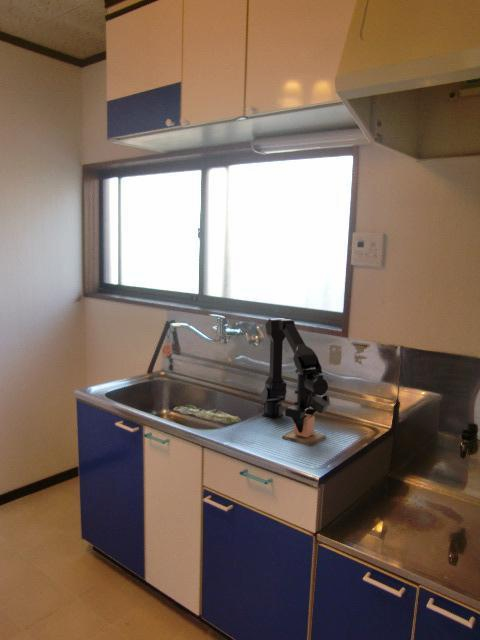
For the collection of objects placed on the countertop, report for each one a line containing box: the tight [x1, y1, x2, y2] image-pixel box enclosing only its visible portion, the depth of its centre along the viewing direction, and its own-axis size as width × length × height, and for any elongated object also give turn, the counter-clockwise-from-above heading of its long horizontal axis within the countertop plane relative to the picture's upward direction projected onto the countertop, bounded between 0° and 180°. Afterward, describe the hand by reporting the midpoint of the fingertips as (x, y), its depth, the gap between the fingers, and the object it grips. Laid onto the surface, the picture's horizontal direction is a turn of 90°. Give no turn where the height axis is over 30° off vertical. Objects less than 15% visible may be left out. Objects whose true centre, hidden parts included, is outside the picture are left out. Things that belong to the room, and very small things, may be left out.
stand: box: [281, 428, 327, 447], centre depth 179 cm, size 12×10×7 cm
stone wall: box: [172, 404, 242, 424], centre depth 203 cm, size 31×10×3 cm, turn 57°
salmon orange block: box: [293, 413, 316, 437], centre depth 178 cm, size 5×5×7 cm
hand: (304, 430), depth 179 cm, fingers closed on salmon orange block, 5 cm apart
